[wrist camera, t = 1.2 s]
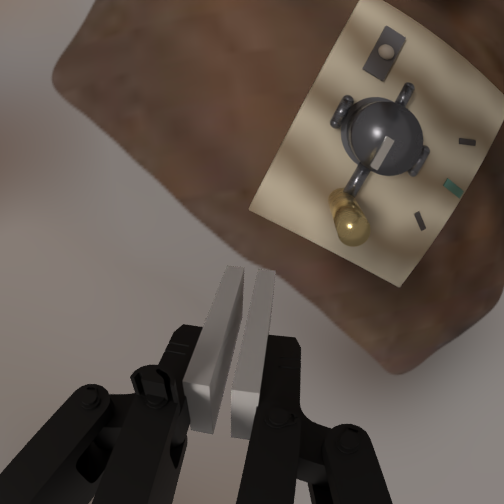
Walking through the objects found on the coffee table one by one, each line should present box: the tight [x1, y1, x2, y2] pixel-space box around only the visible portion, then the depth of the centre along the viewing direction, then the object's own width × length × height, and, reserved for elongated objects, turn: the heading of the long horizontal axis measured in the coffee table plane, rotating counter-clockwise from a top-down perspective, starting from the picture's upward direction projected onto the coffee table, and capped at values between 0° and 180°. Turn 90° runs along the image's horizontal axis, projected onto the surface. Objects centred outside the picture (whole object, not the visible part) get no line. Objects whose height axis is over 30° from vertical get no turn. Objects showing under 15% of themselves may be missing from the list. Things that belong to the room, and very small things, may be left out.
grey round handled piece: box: [328, 82, 430, 247], centre depth 22 cm, size 14×9×7 cm, turn 155°
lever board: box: [249, 0, 504, 288], centre depth 25 cm, size 24×18×4 cm
